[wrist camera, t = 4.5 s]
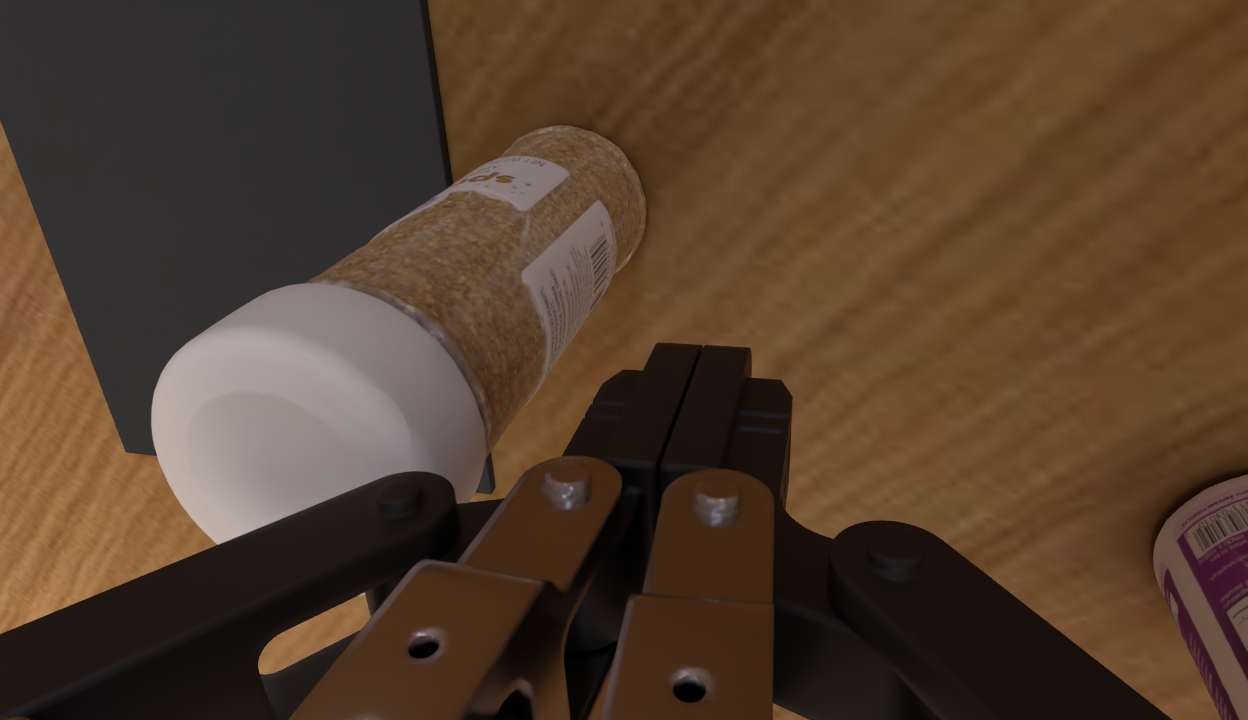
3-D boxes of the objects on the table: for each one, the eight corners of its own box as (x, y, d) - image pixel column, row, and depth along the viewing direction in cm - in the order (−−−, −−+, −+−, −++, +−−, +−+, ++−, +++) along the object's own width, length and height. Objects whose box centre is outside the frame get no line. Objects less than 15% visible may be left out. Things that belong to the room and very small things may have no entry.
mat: (-94, -163, 23) (-109, -165, 23) (396, -216, 19) (388, -218, 19) (133, 447, 32) (125, 452, 32) (495, 488, 28) (491, 494, 28)
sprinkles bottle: (541, 87, 22) (179, 266, 10) (683, 187, 22) (489, 472, 10) (468, 223, 24) (105, 494, 12) (598, 312, 24) (361, 658, 13)
